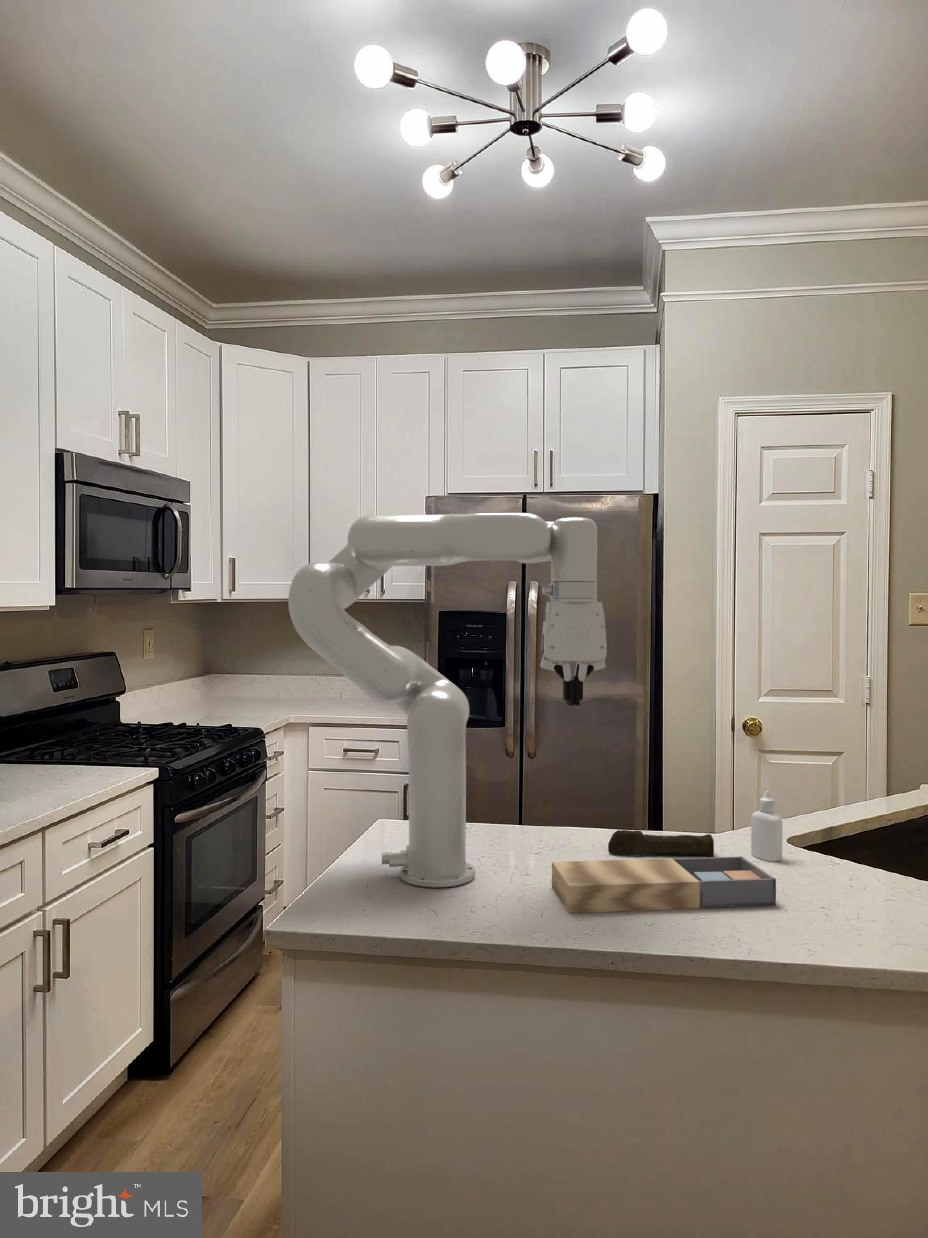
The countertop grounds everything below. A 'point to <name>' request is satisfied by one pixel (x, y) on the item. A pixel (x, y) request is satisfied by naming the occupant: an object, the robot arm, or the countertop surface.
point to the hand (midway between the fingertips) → (572, 704)
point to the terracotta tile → (741, 875)
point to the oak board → (624, 885)
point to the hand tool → (659, 844)
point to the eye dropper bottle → (766, 831)
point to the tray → (731, 883)
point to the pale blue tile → (710, 876)
